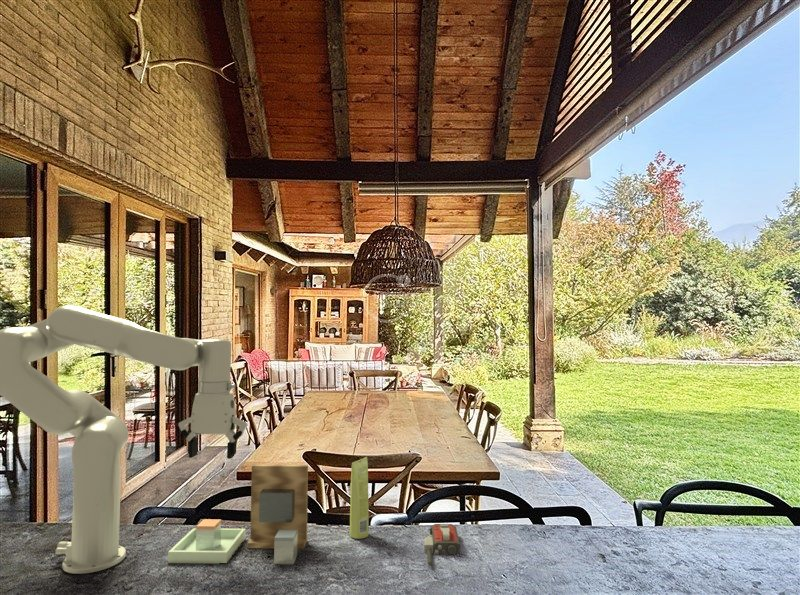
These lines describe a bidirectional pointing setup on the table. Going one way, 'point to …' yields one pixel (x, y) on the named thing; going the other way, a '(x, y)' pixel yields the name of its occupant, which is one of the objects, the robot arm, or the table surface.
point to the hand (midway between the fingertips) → (211, 456)
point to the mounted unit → (278, 503)
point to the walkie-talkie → (441, 541)
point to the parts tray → (188, 553)
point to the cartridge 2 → (285, 546)
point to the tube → (359, 500)
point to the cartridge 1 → (208, 535)
